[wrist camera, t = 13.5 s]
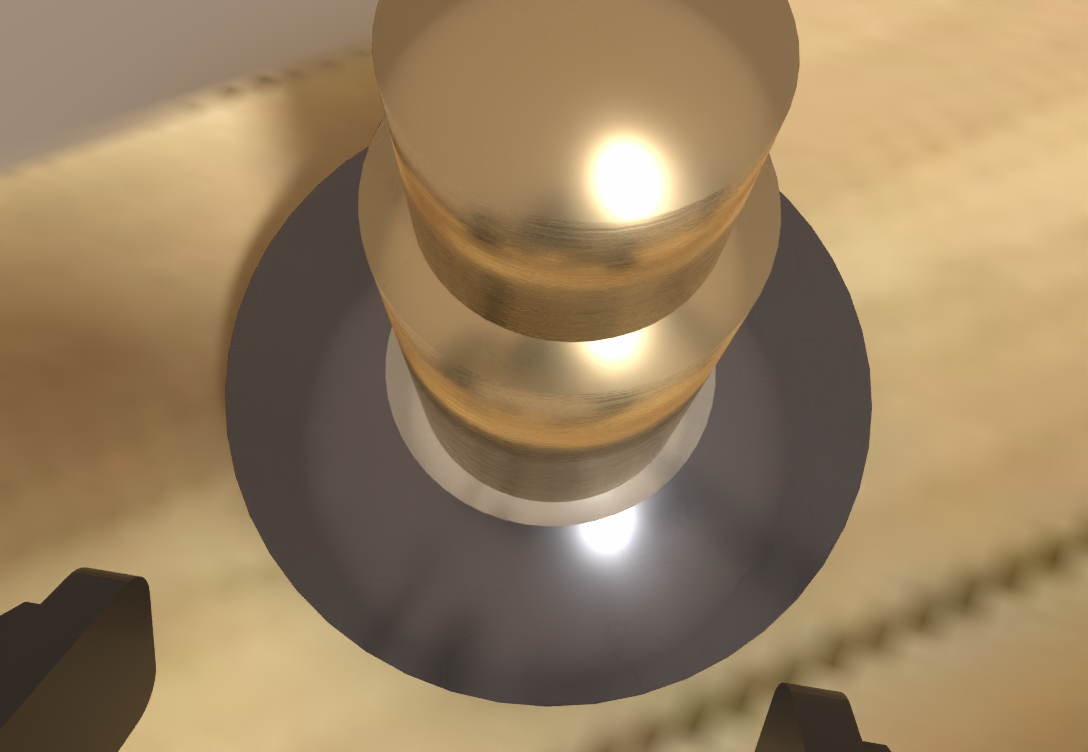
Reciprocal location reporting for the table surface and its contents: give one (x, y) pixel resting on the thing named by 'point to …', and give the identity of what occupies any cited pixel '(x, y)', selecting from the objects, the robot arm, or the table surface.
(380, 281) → the weight
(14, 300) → the table surface
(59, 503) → the table surface
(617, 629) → the turntable
